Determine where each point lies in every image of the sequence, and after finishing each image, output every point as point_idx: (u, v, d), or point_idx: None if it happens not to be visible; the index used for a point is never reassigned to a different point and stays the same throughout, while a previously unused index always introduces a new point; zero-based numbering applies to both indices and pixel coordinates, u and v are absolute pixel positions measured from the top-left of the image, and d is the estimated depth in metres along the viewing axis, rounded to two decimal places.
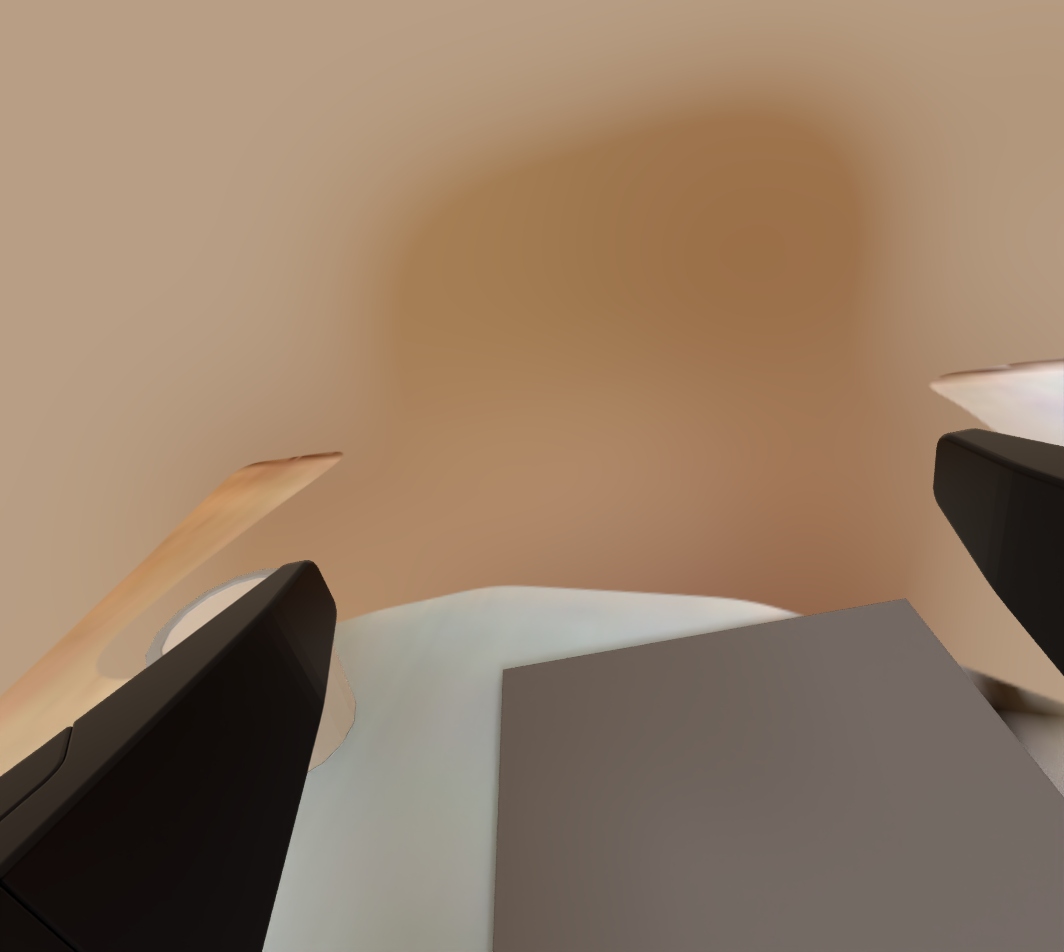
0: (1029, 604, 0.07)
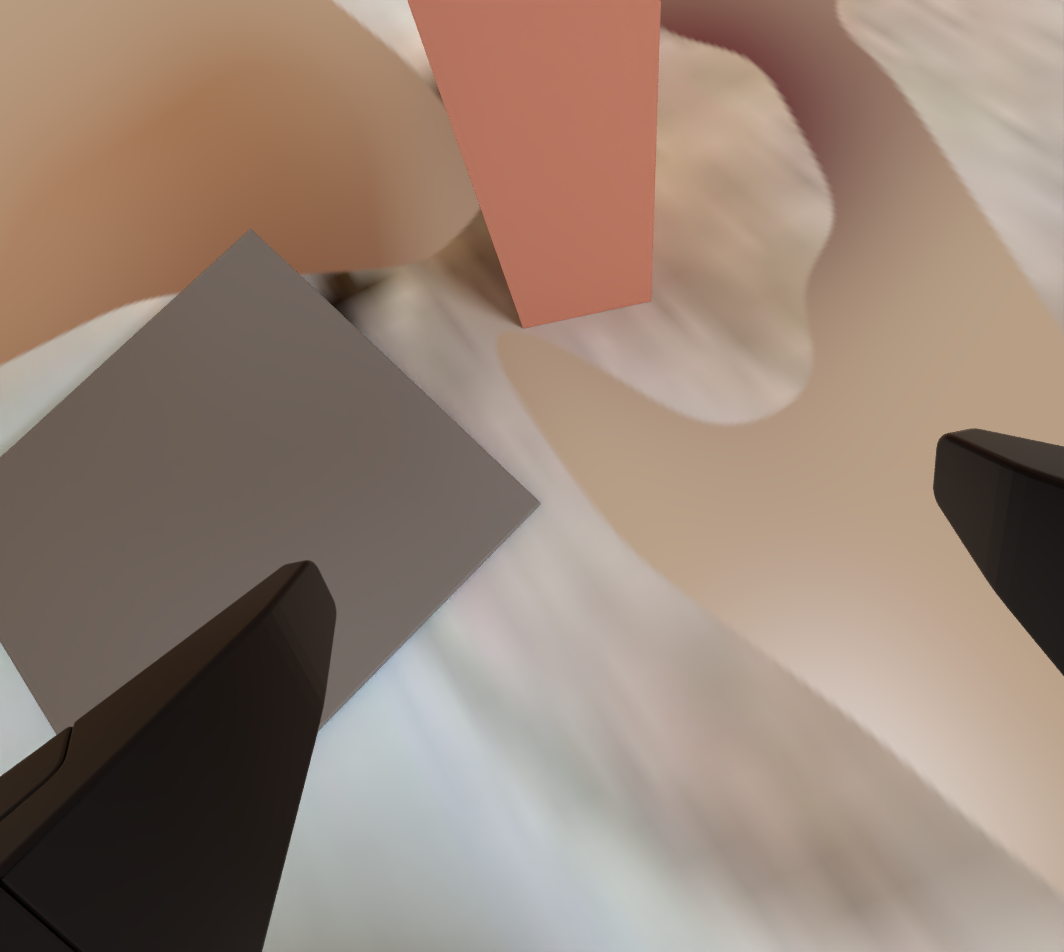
0: (1029, 604, 0.07)
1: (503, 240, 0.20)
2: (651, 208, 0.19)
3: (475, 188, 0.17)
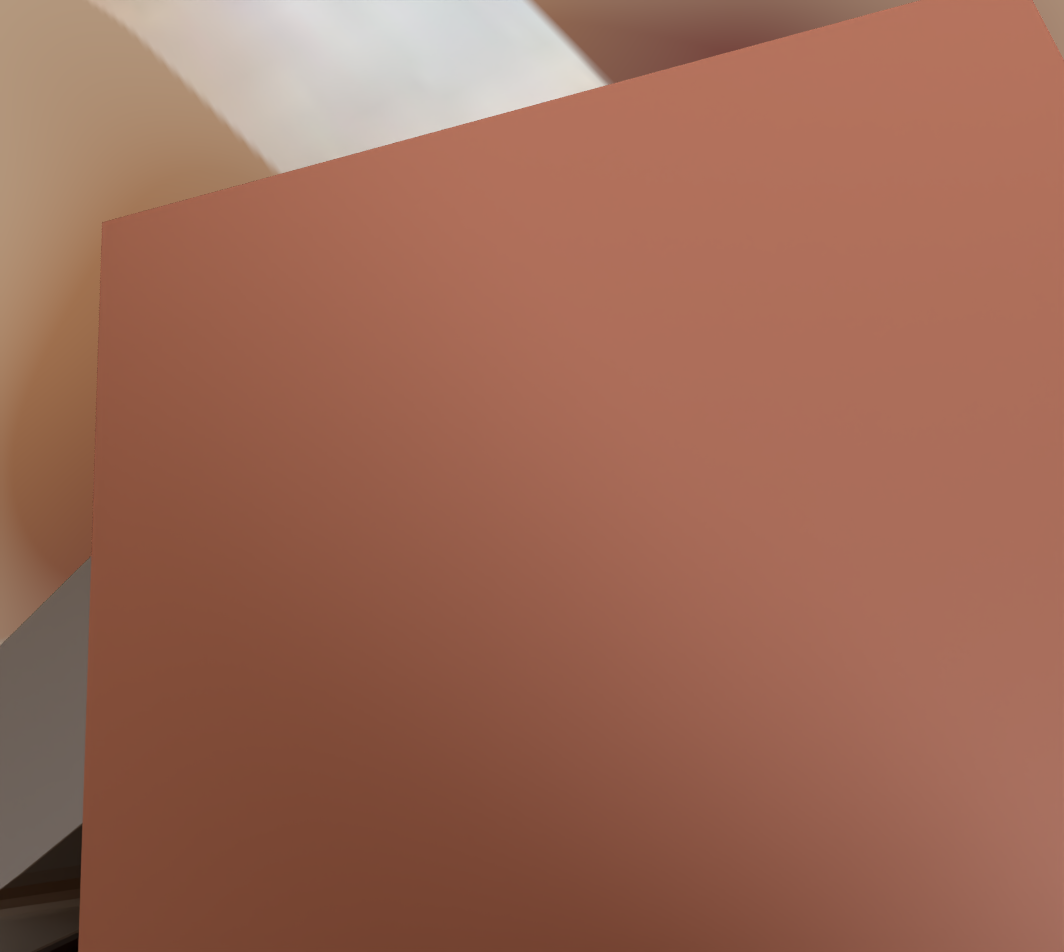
0: None
1: None
2: None
3: None
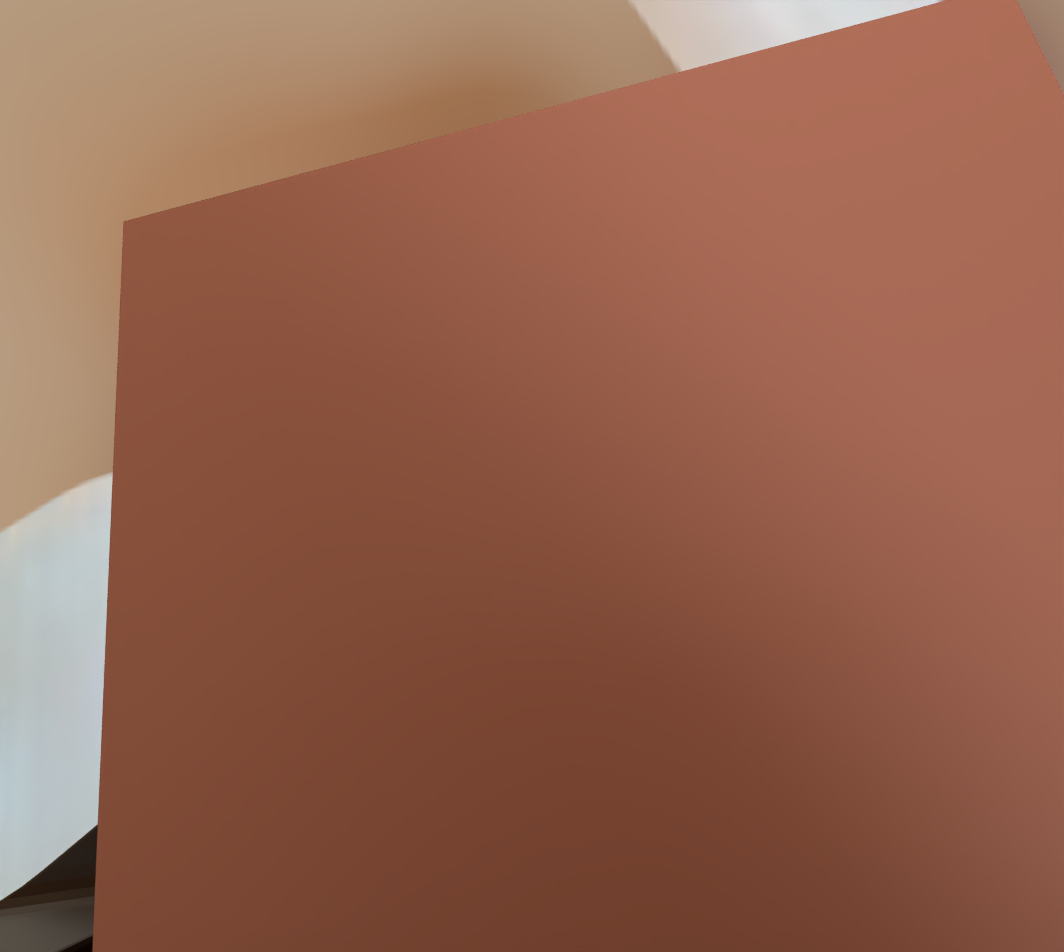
0: None
1: None
2: None
3: None
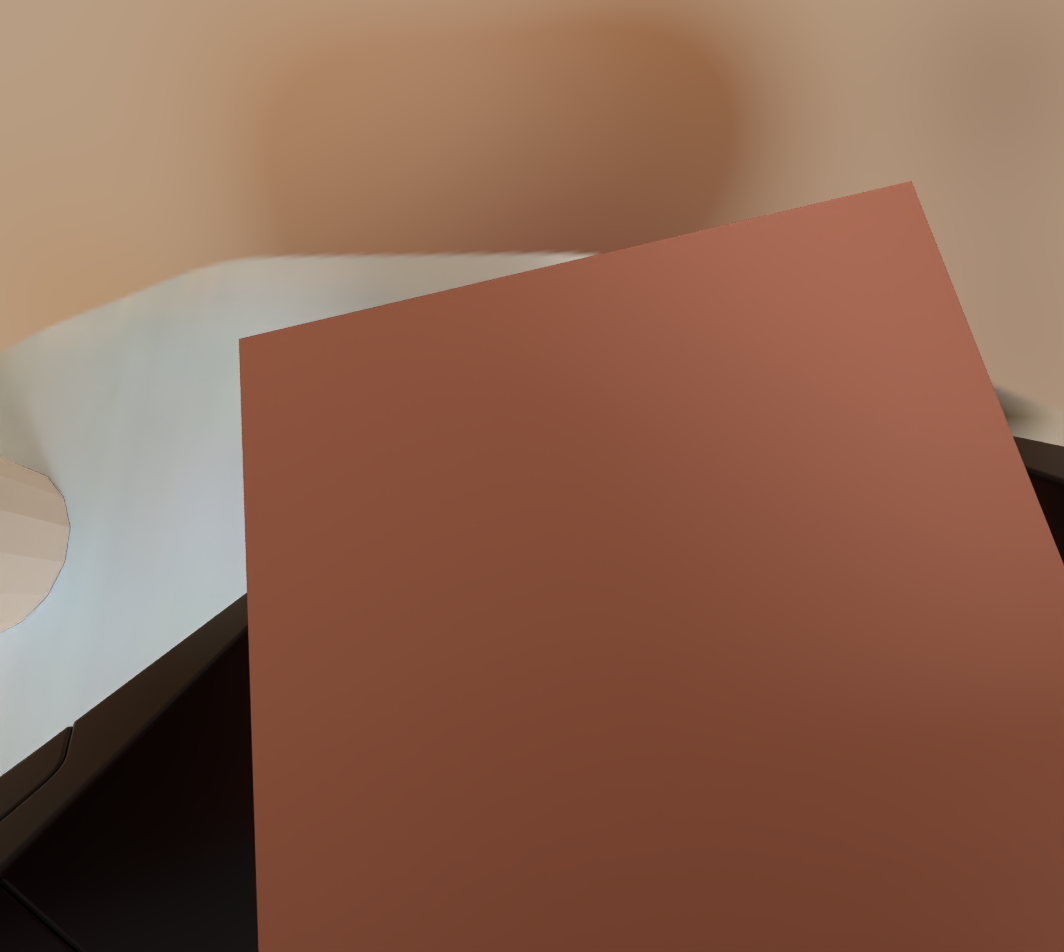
0: None
1: None
2: None
3: None
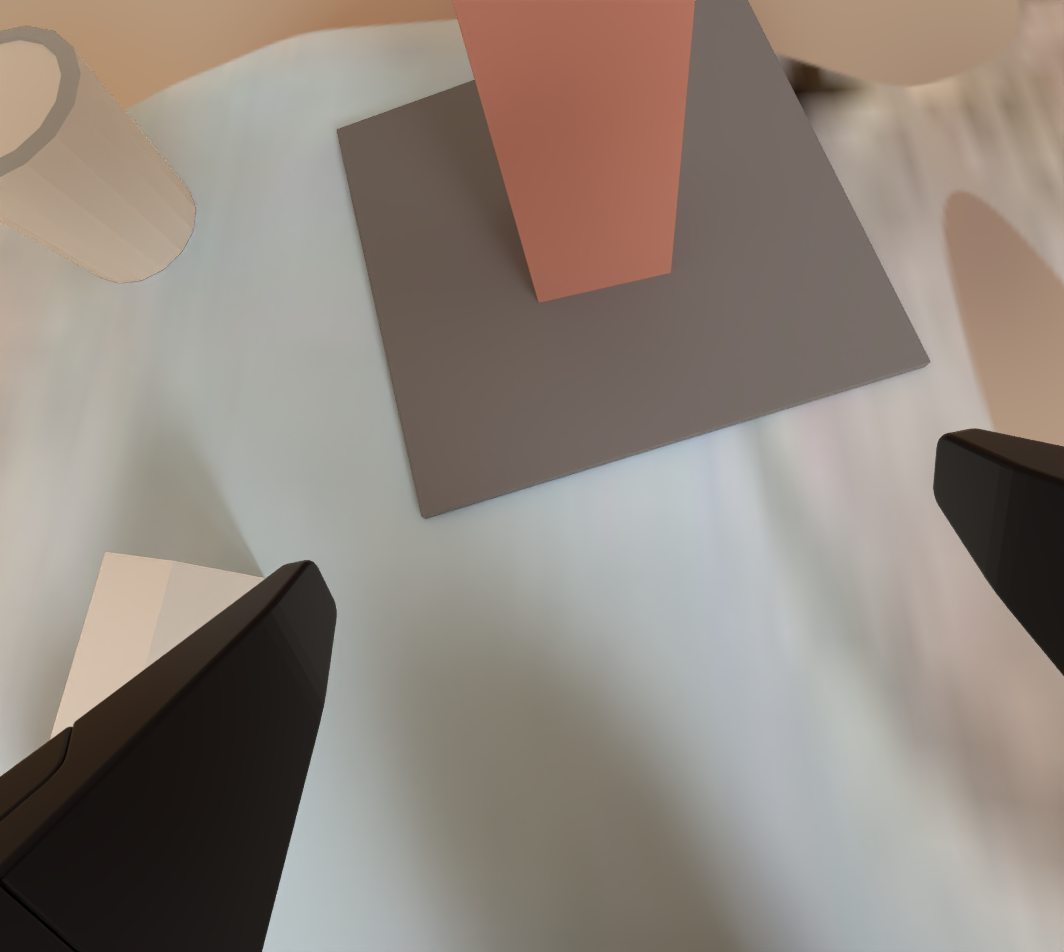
0: (1029, 604, 0.07)
1: (522, 205, 0.19)
2: (677, 171, 0.19)
3: (496, 149, 0.17)
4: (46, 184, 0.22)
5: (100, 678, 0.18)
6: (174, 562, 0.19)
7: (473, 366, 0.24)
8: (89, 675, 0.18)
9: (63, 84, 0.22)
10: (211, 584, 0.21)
